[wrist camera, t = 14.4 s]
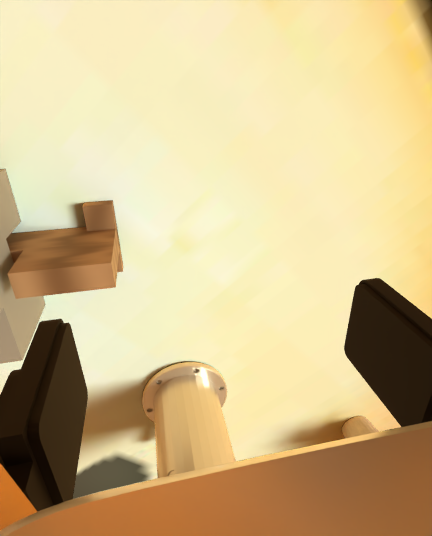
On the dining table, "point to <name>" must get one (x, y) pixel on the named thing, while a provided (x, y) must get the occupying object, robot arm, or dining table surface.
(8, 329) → the grey slotted plate
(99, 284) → the walnut slotted stand
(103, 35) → the dining table surface
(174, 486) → the robot arm
